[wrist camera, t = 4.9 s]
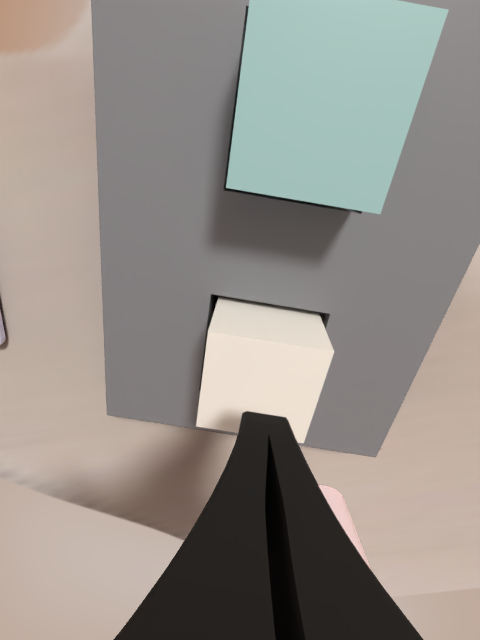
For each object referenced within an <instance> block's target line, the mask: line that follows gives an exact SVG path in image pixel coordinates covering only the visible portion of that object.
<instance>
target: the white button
mask: <svg viewBox="0 0 480 640" xmlns="http://www.w3.org/2000/svg"><path fill="white" fill-rule="evenodd" d="M333 354H334V350H333V347H332V345H331V342H330V340H329V337H328V335H327V332H326V330H325V327H324V324H323V322H322V319H321V317H320V314H319V313H315V312H309V311H303V310H297V309H291V308H285V307H279V306H273V305H267V304H261V303H255V302H249V301H243V300H237V299H231V298H225V297H218V301H217V304H216V307H215V310H214V313H213V317H212V320H211V323H210V326H209V329H208V335H207V343H206V351H205V359H204V367H203V375H202V383H201V390H200V398H199V406H198V414H197V422H196V427H203V428H209V429H215V430H222V431H228V432H234V433H238V431H239V427H240V422H241V417H242V413H244V412H246V411H250V412H256V413H262V414H268V415H275V416H281V417H286V418H287V419H288V421H289V423H290V426H291V428H292V431H293V433H294V436H295V438H296V440H297V443H304V441H305V438H306V435H307V432H308V429H309V426H310V423H311V420H312V417H313V414H314V411H315V408H316V405H317V402H318V399H319V396H320V393H321V390H322V387H323V384H324V381H325V378H326V375H327V372H328V369H329V366H330V363H331V360H332V357H333Z"/></svg>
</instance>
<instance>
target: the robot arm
mask: <svg viewBox="0 0 480 640" xmlns="http://www.w3.org/2000/svg"><path fill="white" fill-rule="evenodd" d="M5 338H6V337H5V332H4V327H3V321H2V316H1V311H0V345H1V344H2V343H4V342H5ZM114 640H423V639H422V637H421V636H420V635H419V633H418V632H417V631H416V629H415V628H414V627H413V626H412V624H411V623H410V622H409V620H408V619H407V618H406V616H405V615H404V614H403V613H402V611H401V610H400V609H399V607H398V606H397V605H396V603H395V602H394V601H393V599H392V598H391V597H390V596H389V594H388V593H387V592H386V590H385V589H384V588H383V586H382V585H381V584H380V582H379V581H378V579H377V578H376V577H375V575H374V574H373V572H372V571H371V569H370V568H369V567H368V565H367V564H366V562H365V561H364V559H363V558H362V556H361V555H360V553H359V552H358V550H357V549H356V547H355V546H354V544H353V543H352V541H351V540H350V538H349V537H348V535H347V534H346V532H345V530H344V529H343V527H342V526H341V524H340V522H339V521H338V519H337V517H336V516H335V514H334V512H333V511H332V509H331V507H330V505H329V504H328V502H327V500H326V498H325V497H324V495H323V493H322V491H321V489H320V487H319V486H318V484H317V482H316V480H315V478H314V476H313V474H312V472H311V470H310V468H309V466H308V464H307V462H306V460H305V458H304V456H303V454H302V451H301V449H300V447H299V445H298V443H297V440H296V438H295V436H294V433H293V431H292V428H291V426H290V423H289V421H288V419H287V418H286V417H281V416H275V415H268V414H262V413H256V412H250V411H246V412H244V413H242V417H241V422H240V427H239V431H238V436H237V440H236V443H235V445H234V448H233V450H232V453H231V455H230V458H229V460H228V462H227V465H226V467H225V469H224V471H223V473H222V475H221V477H220V479H219V481H218V483H217V485H216V487H215V489H214V491H213V493H212V495H211V497H210V499H209V501H208V502H207V504H206V506H205V508H204V510H203V511H202V513H201V515H200V517H199V518H198V520H197V522H196V523H195V525H194V527H193V528H192V530H191V532H190V533H189V535H188V536H187V538H186V539H185V541H184V542H183V544H182V546H181V547H180V549H179V550H178V552H177V553H176V555H175V556H174V558H173V559H172V561H171V562H170V564H169V566H168V567H167V568H166V570H165V571H164V573H163V574H162V575H161V577H160V578H159V580H158V581H157V583H156V584H155V585H154V587H153V588H152V589H151V591H150V592H149V593H148V595H147V596H146V598H145V599H144V600H143V602H142V603H141V605H140V606H139V607H138V609H137V610H136V612H135V613H134V614H133V616H132V617H131V618H130V619H129V621H128V622H127V623H126V625H125V626H124V627H123V629H122V630H121V631H120V632H119V634H118V635H117V636H116V637H115V639H114Z"/></svg>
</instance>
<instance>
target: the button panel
mask: <svg viewBox="0 0 480 640" xmlns="http://www.w3.org/2000/svg"><path fill="white" fill-rule="evenodd" d="M399 1H404V2H410V3H415V4H421V5H426V6H432V7H437V8H442V9H448V10H449V11H448V14H447V17H446V20H445V23H444V26H443V29H442V32H441V35H440V38H439V41H438V44H437V47H436V50H435V53H434V56H433V59H432V62H431V65H430V68H429V71H428V73H427V76H426V79H425V82H424V85H423V88H422V91H421V94H420V97H419V100H418V103H417V106H416V109H415V112H414V115H413V118H412V121H411V124H410V127H409V130H408V133H407V136H406V139H405V142H404V145H403V148H402V151H401V154H400V157H399V160H398V163H397V166H396V169H395V172H394V175H393V178H392V181H391V184H390V187H389V190H388V193H387V196H386V199H385V202H384V205H383V208H382V211H381V214H376V213H370V212H364V211H358V210H352V209H346V208H341V207H335V206H329V205H323V204H317V203H311V202H306V201H300V200H294V199H288V198H282V197H276V196H271V195H265V194H259V193H253V192H247V191H241V190H235V189H230V188H226V184H227V176H228V168H229V160H230V152H231V144H232V136H233V128H234V120H235V112H236V104H237V96H238V88H239V80H240V72H241V64H242V56H243V48H244V40H245V32H246V24H247V16H248V8H249V0H91V8H92V35H93V61H94V87H95V114H96V140H97V166H98V193H99V219H100V246H101V272H102V298H103V325H104V351H105V378H106V404H107V415H110V416H117V417H123V418H129V419H136V420H142V421H148V422H155V423H161V424H167V425H174V426H180V427H186V428H193V429H199V430H205V431H212V432H218V433H224V434H230V435H237V436H238V433H234V432H228V431H222V430H215V429H209V428H203V427H196V422H197V414H198V406H199V398H200V390H201V383H202V375H203V367H204V359H205V351H206V343H207V335H208V329H209V326H210V323H211V318H212V311H213V303H214V295H220V296H226V297H232V298H238V299H244V300H250V301H256V302H262V303H268V304H274V305H280V306H286V307H292V308H298V309H304V310H310V311H316V312H317V313H319V314H320V317H321V319H322V322H323V324H324V327H325V330H326V332H327V335H328V337H329V340H330V342H331V345H332V347H333V350H334V354H333V357H332V360H331V363H330V366H329V369H328V372H327V375H326V378H325V381H324V384H323V387H322V390H321V393H320V396H319V399H318V402H317V405H316V408H315V411H314V414H313V417H312V420H311V423H310V426H309V429H308V432H307V435H306V438H305V441H304V443H298V445H300V446H306V447H313V448H319V449H325V450H332V451H338V452H344V453H351V454H357V455H363V456H370V457H376V456H377V454H378V452H379V450H380V448H381V446H382V444H383V442H384V439H385V437H386V435H387V433H388V431H389V429H390V427H391V425H392V423H393V421H394V419H395V417H396V415H397V413H398V411H399V409H400V406H401V404H402V402H403V400H404V398H405V396H406V394H407V392H408V390H409V388H410V386H411V384H412V382H413V380H414V378H415V376H416V374H417V371H418V369H419V367H420V365H421V363H422V361H423V359H424V357H425V355H426V353H427V351H428V349H429V347H430V345H431V343H432V341H433V338H434V336H435V334H436V332H437V330H438V328H439V326H440V324H441V322H442V320H443V318H444V316H445V314H446V312H447V310H448V308H449V305H450V303H451V301H452V299H453V297H454V295H455V293H456V291H457V289H458V287H459V285H460V283H461V281H462V279H463V277H464V275H465V273H466V270H467V268H468V266H469V264H470V262H471V260H472V258H473V256H474V254H475V252H476V250H477V248H478V246H479V244H480V0H399Z"/></svg>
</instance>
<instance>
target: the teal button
mask: <svg viewBox="0 0 480 640" xmlns="http://www.w3.org/2000/svg"><path fill="white" fill-rule="evenodd" d="M448 11H449V10H448V9H442V8H437V7H432V6H426V5H421V4H415V3H410V2H404V1H399V0H249V8H248V16H247V24H246V32H245V40H244V48H243V56H242V64H241V72H240V80H239V88H238V96H237V104H236V112H235V120H234V128H233V136H232V144H231V152H230V160H229V168H228V176H227V184H226V188H230V189H235V190H241V191H247V192H253V193H259V194H265V195H271V196H276V197H282V198H288V199H294V200H300V201H306V202H311V203H317V204H323V205H329V206H335V207H341V208H346V209H352V210H358V211H364V212H370V213H376V214H381V211H382V208H383V205H384V202H385V199H386V196H387V193H388V190H389V187H390V184H391V181H392V178H393V175H394V172H395V169H396V166H397V163H398V160H399V157H400V154H401V151H402V148H403V145H404V142H405V139H406V136H407V133H408V130H409V127H410V124H411V121H412V118H413V115H414V112H415V109H416V106H417V103H418V100H419V97H420V94H421V91H422V88H423V85H424V82H425V79H426V76H427V73H428V71H429V68H430V65H431V62H432V59H433V56H434V53H435V50H436V47H437V44H438V41H439V38H440V35H441V32H442V29H443V26H444V23H445V20H446V17H447V14H448Z"/></svg>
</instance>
